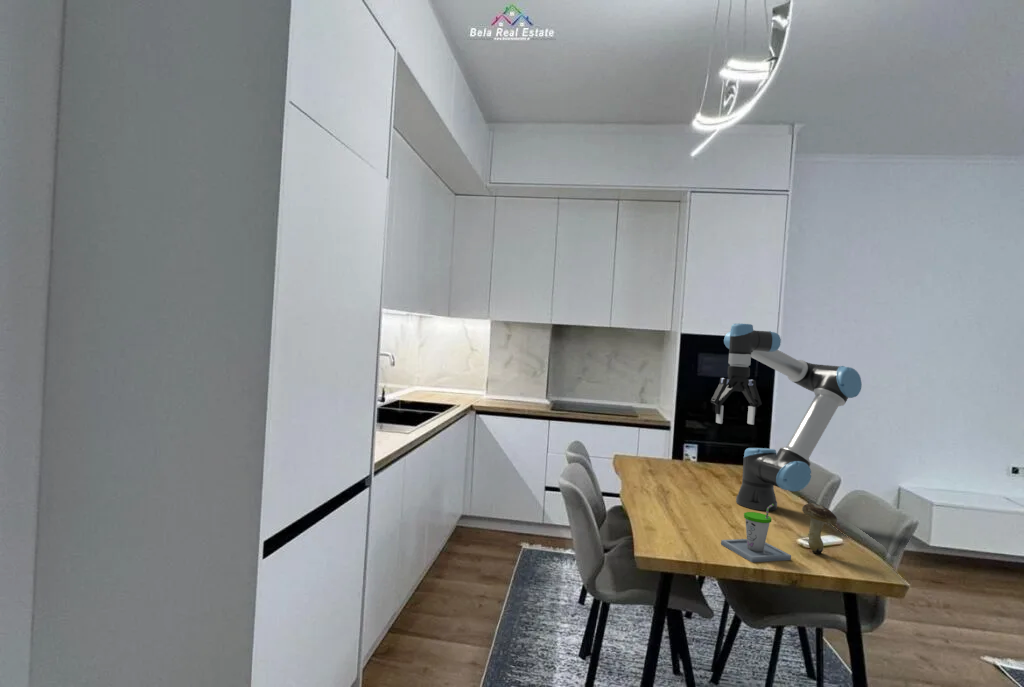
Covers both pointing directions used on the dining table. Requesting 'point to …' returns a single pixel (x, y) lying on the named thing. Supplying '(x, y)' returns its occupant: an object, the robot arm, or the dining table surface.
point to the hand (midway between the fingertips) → (734, 423)
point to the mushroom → (817, 524)
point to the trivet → (767, 555)
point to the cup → (757, 529)
